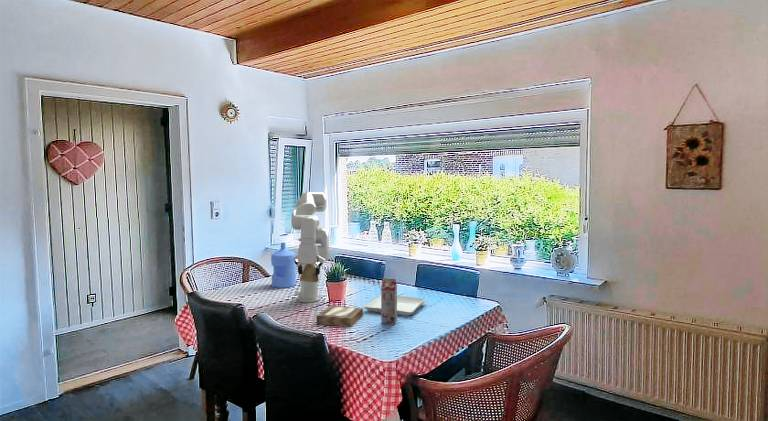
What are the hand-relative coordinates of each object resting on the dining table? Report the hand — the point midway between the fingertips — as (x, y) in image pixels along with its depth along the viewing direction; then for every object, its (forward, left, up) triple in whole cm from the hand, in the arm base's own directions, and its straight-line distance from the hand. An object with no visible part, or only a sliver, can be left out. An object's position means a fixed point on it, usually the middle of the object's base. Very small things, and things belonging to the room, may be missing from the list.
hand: (308, 274), depth 244 cm
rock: (0, +1, -4) cm, 4 cm away
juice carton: (+42, +2, -22) cm, 47 cm away
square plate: (+39, +27, -23) cm, 52 cm away
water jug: (-45, +59, -22) cm, 77 cm away
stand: (+17, 0, -22) cm, 28 cm away
